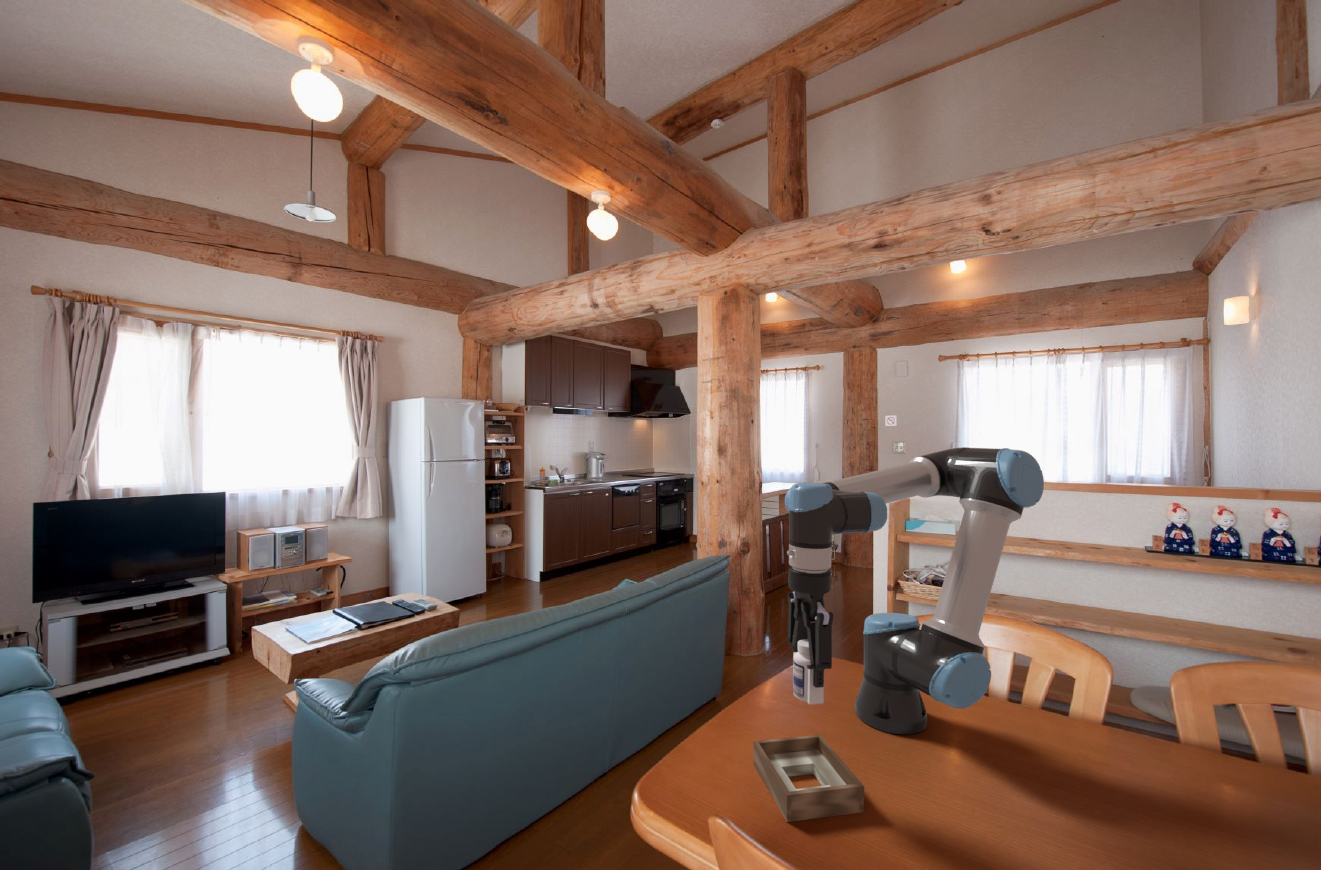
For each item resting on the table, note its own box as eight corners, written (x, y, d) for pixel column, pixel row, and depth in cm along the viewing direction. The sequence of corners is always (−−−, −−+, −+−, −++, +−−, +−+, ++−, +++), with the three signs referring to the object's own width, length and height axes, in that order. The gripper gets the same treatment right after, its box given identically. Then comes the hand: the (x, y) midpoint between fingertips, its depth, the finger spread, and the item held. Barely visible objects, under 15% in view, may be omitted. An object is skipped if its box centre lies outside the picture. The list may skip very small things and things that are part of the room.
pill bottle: (824, 691, 101) (824, 639, 101) (822, 705, 96) (823, 650, 96) (794, 687, 103) (795, 635, 103) (791, 700, 98) (792, 646, 98)
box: (820, 756, 109) (820, 734, 109) (863, 812, 93) (863, 786, 93) (753, 764, 107) (753, 741, 107) (786, 822, 91) (786, 795, 91)
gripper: (770, 557, 108) (769, 674, 108) (813, 582, 90) (811, 723, 90) (806, 555, 109) (804, 671, 109) (855, 581, 91) (853, 719, 91)
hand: (807, 694), depth 100 cm, fingers closed on pill bottle, 5 cm apart
